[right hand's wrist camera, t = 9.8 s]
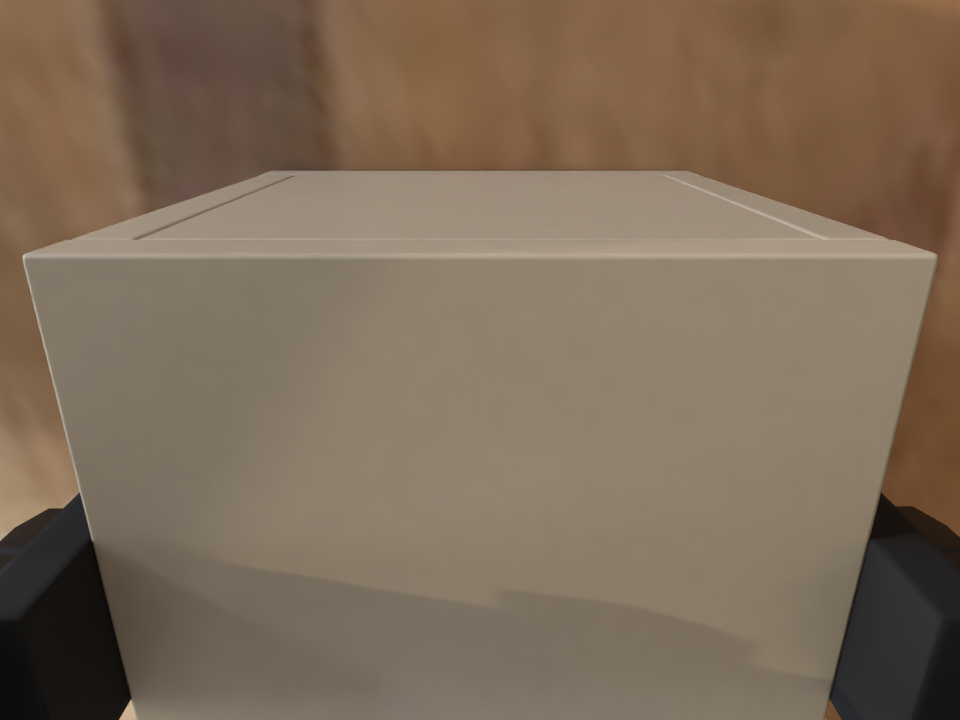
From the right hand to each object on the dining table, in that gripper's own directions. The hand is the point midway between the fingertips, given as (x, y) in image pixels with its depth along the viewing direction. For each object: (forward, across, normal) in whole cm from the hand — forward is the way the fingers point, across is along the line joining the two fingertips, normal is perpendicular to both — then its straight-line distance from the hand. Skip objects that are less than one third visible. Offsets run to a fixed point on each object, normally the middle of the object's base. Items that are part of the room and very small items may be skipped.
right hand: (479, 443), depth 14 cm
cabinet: (+4, 0, -5) cm, 6 cm away
